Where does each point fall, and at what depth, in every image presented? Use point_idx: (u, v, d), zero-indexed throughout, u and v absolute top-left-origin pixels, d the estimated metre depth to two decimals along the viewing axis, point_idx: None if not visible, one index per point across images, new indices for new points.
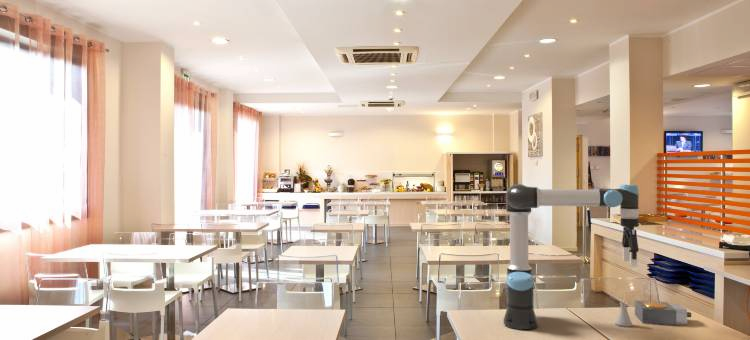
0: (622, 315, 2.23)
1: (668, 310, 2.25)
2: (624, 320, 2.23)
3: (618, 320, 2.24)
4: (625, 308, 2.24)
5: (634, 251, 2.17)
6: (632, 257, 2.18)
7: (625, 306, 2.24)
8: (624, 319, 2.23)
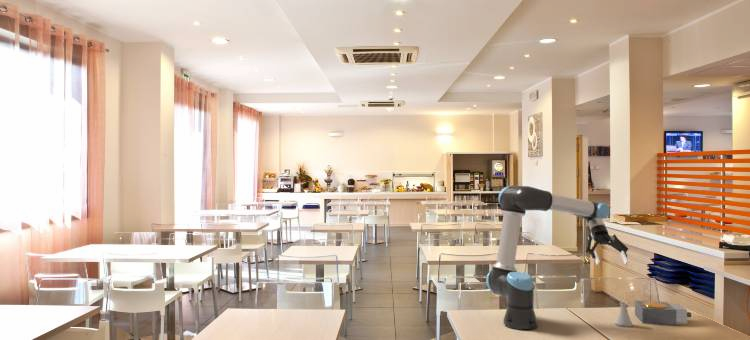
0: (622, 315, 2.23)
1: (668, 310, 2.25)
2: (624, 320, 2.23)
3: (618, 320, 2.24)
4: (625, 308, 2.24)
5: (626, 250, 2.41)
6: (625, 255, 2.38)
7: (625, 306, 2.24)
8: (624, 319, 2.23)
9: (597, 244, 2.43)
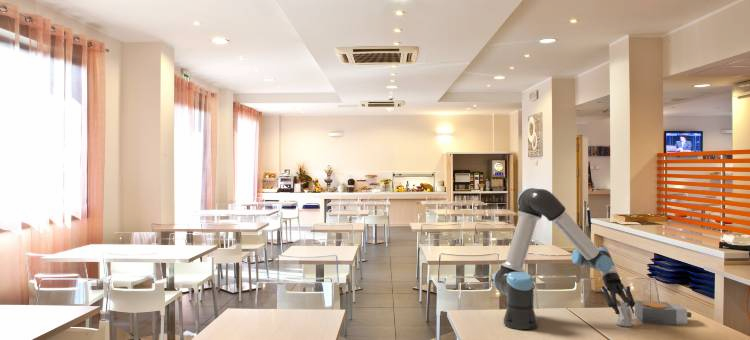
0: None
1: (668, 310, 2.25)
2: (624, 319, 2.23)
3: (618, 320, 2.24)
4: (625, 308, 2.24)
5: None
6: (632, 311, 2.24)
7: (625, 306, 2.24)
8: (624, 319, 2.23)
9: None
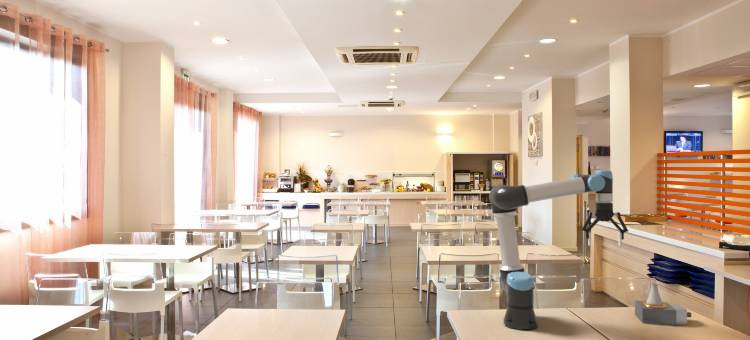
0: (653, 294, 2.31)
1: (668, 310, 2.25)
2: (655, 299, 2.30)
3: (649, 299, 2.32)
4: (656, 288, 2.31)
5: None
6: (622, 238, 2.34)
7: (656, 286, 2.31)
8: (655, 299, 2.30)
9: (595, 223, 2.37)
